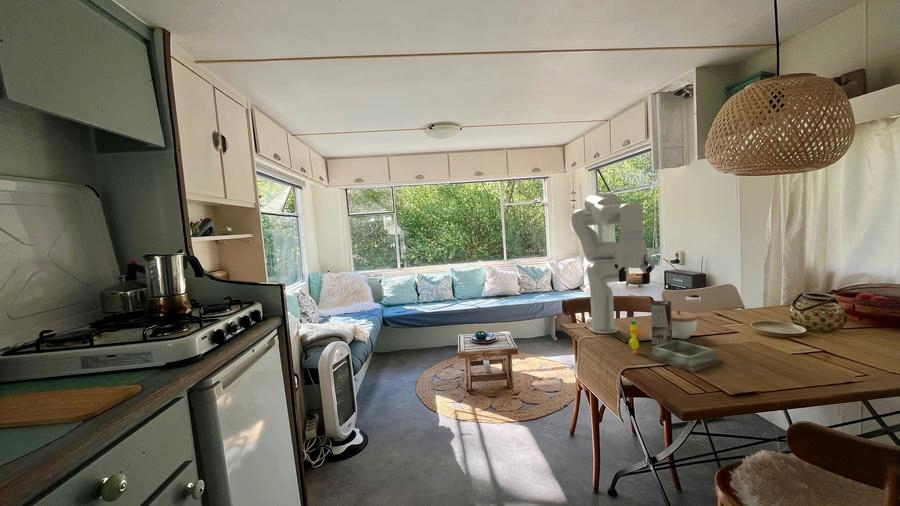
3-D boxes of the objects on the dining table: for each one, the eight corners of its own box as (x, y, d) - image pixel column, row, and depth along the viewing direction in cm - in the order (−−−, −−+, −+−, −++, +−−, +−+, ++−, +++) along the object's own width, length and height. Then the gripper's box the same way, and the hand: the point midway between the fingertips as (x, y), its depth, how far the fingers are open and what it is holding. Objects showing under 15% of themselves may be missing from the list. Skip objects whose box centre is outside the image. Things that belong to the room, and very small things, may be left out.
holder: (646, 357, 126) (645, 346, 125) (675, 348, 132) (674, 338, 132) (692, 372, 111) (692, 360, 111) (722, 361, 117) (722, 350, 117)
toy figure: (646, 355, 128) (645, 323, 127) (638, 356, 127) (637, 324, 126) (633, 349, 134) (632, 318, 134) (625, 350, 134) (624, 320, 133)
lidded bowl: (694, 342, 137) (694, 315, 136) (658, 337, 145) (657, 311, 145) (700, 334, 146) (699, 308, 145) (665, 330, 154) (664, 305, 154)
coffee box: (670, 346, 134) (669, 305, 133) (651, 344, 138) (650, 304, 137) (673, 340, 141) (671, 300, 140) (654, 337, 145) (653, 299, 144)
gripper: (605, 238, 134) (607, 281, 135) (646, 236, 119) (648, 286, 120) (619, 236, 137) (621, 279, 138) (661, 235, 122) (663, 283, 123)
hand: (633, 282), depth 129 cm, fingers open, 9 cm apart
